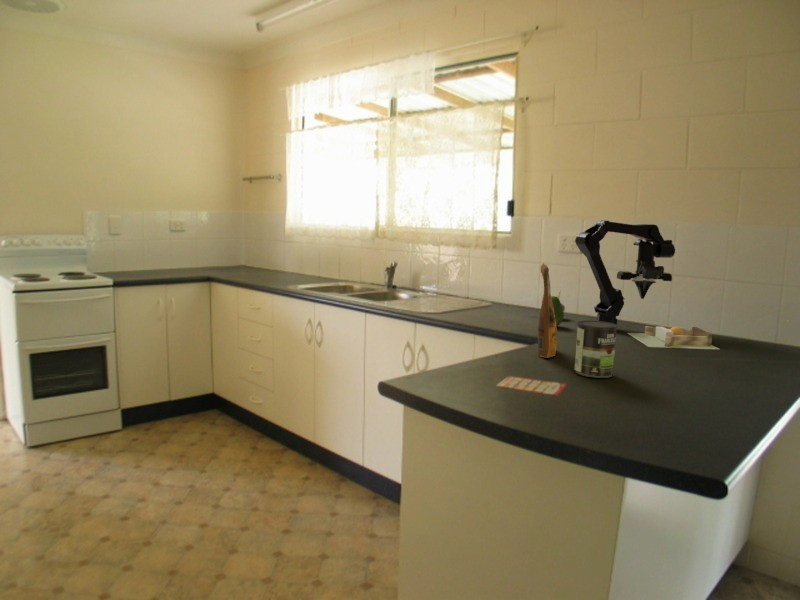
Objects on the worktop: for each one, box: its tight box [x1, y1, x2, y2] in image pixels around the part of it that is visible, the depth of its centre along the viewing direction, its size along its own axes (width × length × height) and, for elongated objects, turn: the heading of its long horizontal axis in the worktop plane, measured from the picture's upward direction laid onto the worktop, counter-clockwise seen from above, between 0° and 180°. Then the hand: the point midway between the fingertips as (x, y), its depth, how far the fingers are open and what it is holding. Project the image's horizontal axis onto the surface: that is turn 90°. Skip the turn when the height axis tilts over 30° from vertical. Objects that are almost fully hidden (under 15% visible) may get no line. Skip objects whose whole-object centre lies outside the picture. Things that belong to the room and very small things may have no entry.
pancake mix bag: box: [537, 262, 558, 357], centre depth 179 cm, size 7×19×28 cm, turn 163°
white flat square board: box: [627, 332, 720, 350], centre depth 201 cm, size 23×22×1 cm
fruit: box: [551, 295, 565, 327], centre depth 223 cm, size 8×8×12 cm
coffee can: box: [574, 319, 618, 376], centre depth 158 cm, size 10×10×14 cm
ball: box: [669, 326, 684, 335], centre depth 201 cm, size 5×5×5 cm
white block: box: [655, 326, 674, 342], centre depth 201 cm, size 2×9×4 cm, turn 177°
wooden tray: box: [643, 325, 713, 347], centre depth 201 cm, size 16×20×4 cm
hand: (642, 298), depth 220 cm, fingers closed
